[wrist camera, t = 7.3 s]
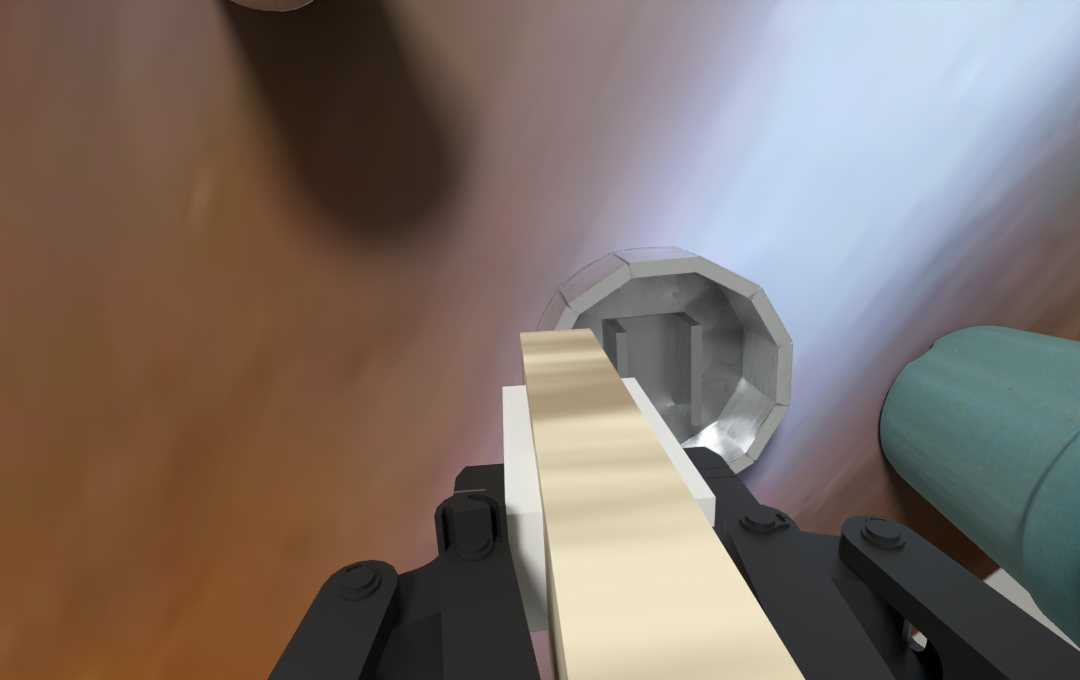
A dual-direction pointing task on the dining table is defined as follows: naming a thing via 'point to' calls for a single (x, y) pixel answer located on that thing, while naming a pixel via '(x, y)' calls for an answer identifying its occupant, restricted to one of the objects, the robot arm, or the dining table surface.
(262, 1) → the coffee cup
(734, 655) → the cream rectangular wooden bar
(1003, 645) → the robot arm
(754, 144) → the dining table surface
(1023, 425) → the flower pot
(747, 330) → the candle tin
